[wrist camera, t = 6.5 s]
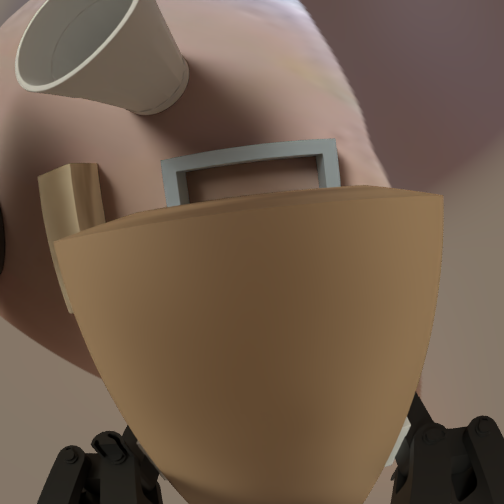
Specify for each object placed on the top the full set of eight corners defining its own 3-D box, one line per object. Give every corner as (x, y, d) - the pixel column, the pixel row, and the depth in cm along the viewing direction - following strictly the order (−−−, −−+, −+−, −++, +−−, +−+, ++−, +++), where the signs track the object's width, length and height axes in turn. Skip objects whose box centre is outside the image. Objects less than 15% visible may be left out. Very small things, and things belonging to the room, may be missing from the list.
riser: (91, 295, 23) (69, 313, 19) (65, 174, 20) (37, 176, 16) (122, 293, 23) (102, 313, 19) (97, 163, 20) (69, 163, 16)
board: (225, 481, 12) (218, 532, 8) (137, 212, 8) (53, 241, 4) (339, 473, 12) (348, 524, 8) (364, 185, 7) (443, 194, 4)
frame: (215, 381, 25) (208, 417, 20) (171, 162, 20) (146, 158, 15) (334, 370, 25) (346, 404, 20) (326, 142, 19) (346, 133, 14)
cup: (98, 84, 18) (6, 47, 6) (167, 27, 16) (109, -51, 5) (140, 143, 19) (35, 125, 8) (218, 81, 18) (176, -5, 6)
